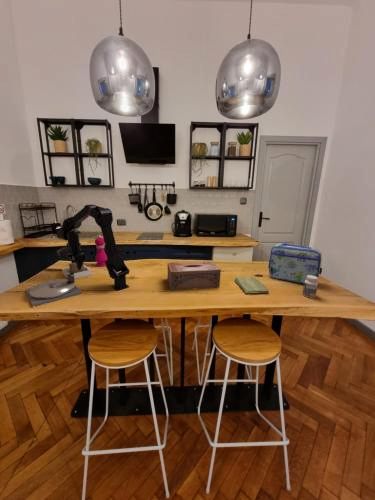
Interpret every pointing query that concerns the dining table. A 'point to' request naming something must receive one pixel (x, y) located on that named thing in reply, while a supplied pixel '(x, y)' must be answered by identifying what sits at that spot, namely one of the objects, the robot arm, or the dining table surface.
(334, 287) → the dining table surface
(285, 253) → the lunch box
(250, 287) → the washcloth
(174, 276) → the tissue box cover
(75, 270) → the block
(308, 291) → the pill bottle
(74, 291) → the crank board
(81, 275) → the tray
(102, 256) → the pepper mill
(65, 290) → the crank
